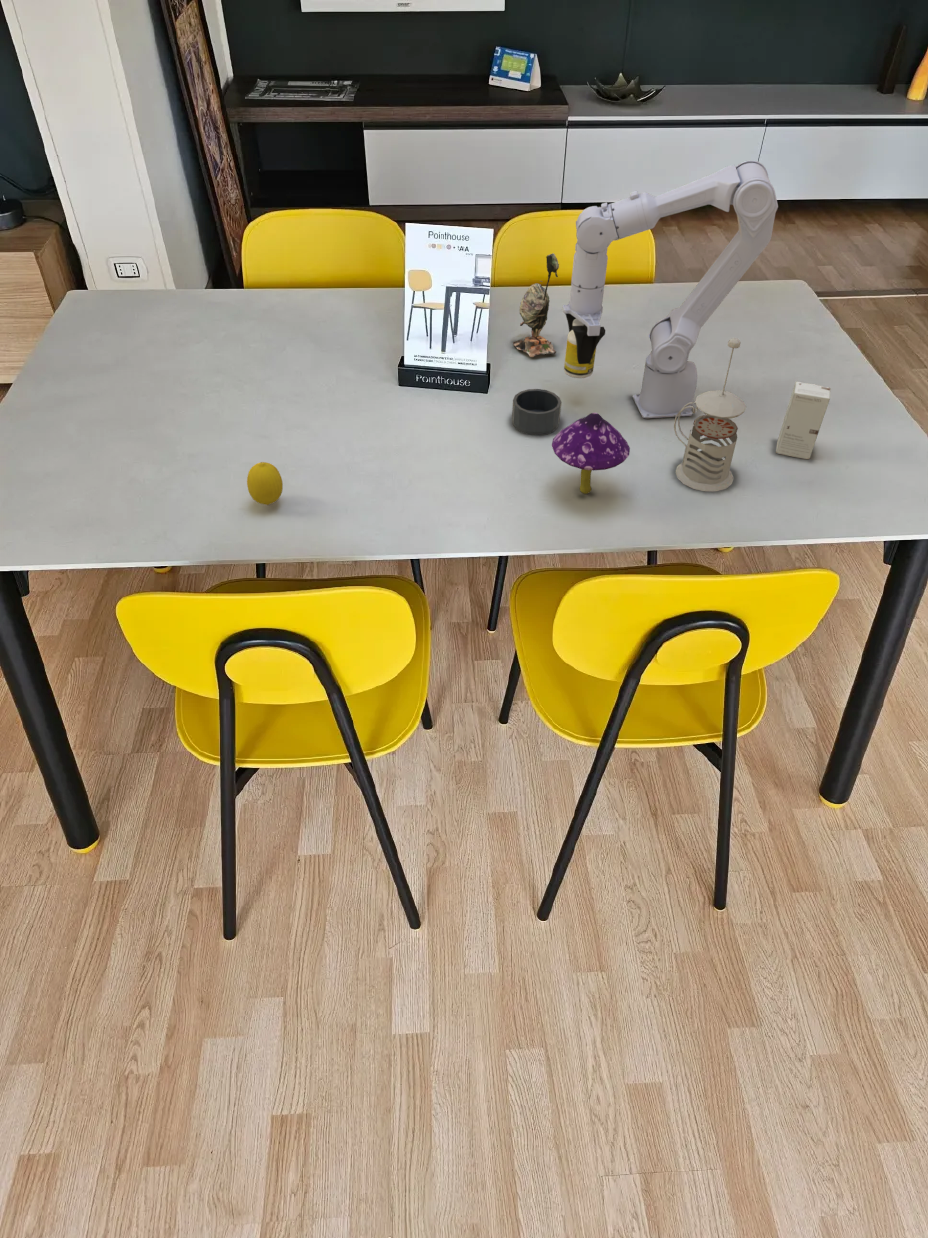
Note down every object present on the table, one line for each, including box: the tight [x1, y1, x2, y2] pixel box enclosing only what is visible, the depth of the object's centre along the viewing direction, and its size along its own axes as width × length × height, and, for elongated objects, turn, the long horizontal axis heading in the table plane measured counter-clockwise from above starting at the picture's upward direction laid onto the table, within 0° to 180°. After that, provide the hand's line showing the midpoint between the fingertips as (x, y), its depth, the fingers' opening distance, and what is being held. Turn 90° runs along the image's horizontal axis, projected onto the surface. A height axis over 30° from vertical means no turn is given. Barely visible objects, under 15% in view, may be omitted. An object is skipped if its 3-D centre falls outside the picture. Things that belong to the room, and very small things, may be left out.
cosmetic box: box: [775, 381, 832, 460], centre depth 164 cm, size 6×4×12 cm
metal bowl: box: [511, 388, 562, 436], centre depth 171 cm, size 9×9×4 cm
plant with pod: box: [512, 253, 560, 358], centre depth 188 cm, size 8×11×20 cm
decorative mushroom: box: [551, 412, 631, 495], centre depth 152 cm, size 12×12×15 cm
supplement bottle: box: [563, 319, 597, 379], centre depth 171 cm, size 5×5×10 cm
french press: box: [673, 337, 747, 492], centre depth 153 cm, size 10×12×25 cm
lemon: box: [246, 461, 284, 506], centre depth 151 cm, size 6×6×8 cm
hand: (580, 354), depth 172 cm, fingers closed on supplement bottle, 5 cm apart
